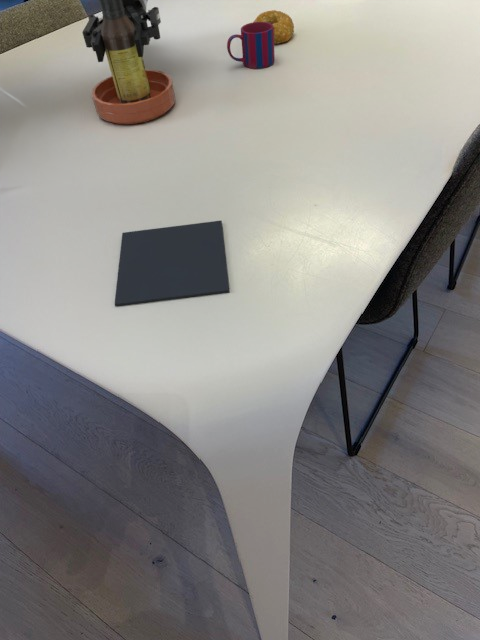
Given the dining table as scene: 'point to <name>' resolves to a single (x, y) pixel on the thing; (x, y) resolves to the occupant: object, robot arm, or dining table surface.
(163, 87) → the dish
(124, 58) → the sauce bottle
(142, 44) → the robot arm
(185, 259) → the mat
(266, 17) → the bagel
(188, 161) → the dining table surface
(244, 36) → the mug
